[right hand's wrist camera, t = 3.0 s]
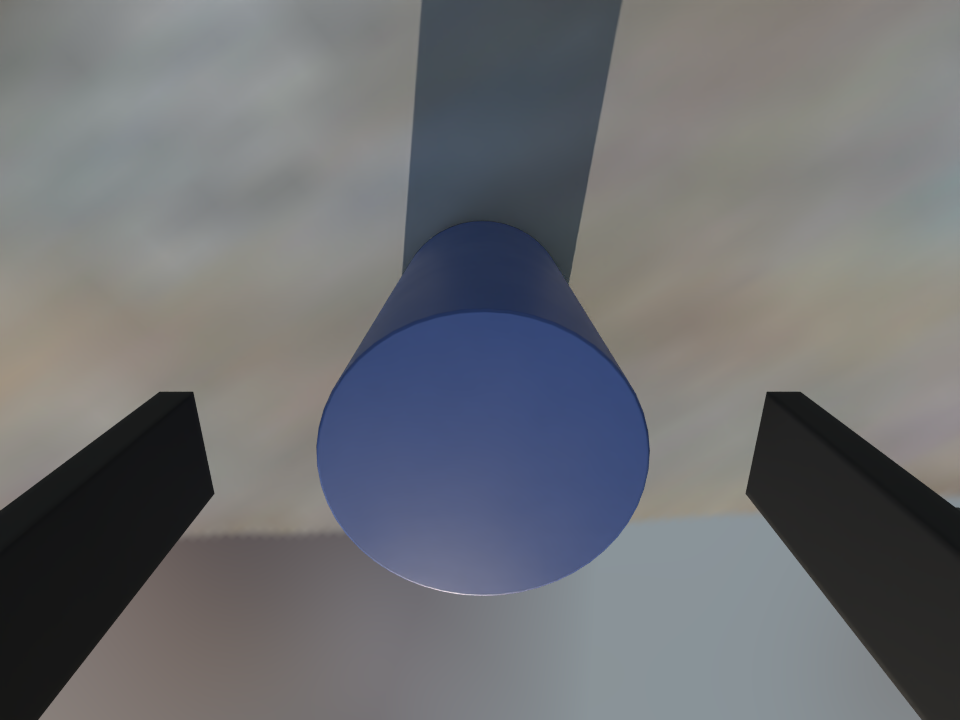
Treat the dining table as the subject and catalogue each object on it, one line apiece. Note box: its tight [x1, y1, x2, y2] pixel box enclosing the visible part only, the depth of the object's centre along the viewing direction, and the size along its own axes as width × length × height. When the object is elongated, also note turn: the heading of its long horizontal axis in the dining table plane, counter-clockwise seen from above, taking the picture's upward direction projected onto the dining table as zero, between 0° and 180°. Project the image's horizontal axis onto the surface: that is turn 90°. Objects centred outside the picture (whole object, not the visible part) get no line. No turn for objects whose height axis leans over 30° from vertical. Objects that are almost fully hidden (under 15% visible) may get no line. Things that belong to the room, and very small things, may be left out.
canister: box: [317, 221, 650, 596], centre depth 17 cm, size 7×7×12 cm
